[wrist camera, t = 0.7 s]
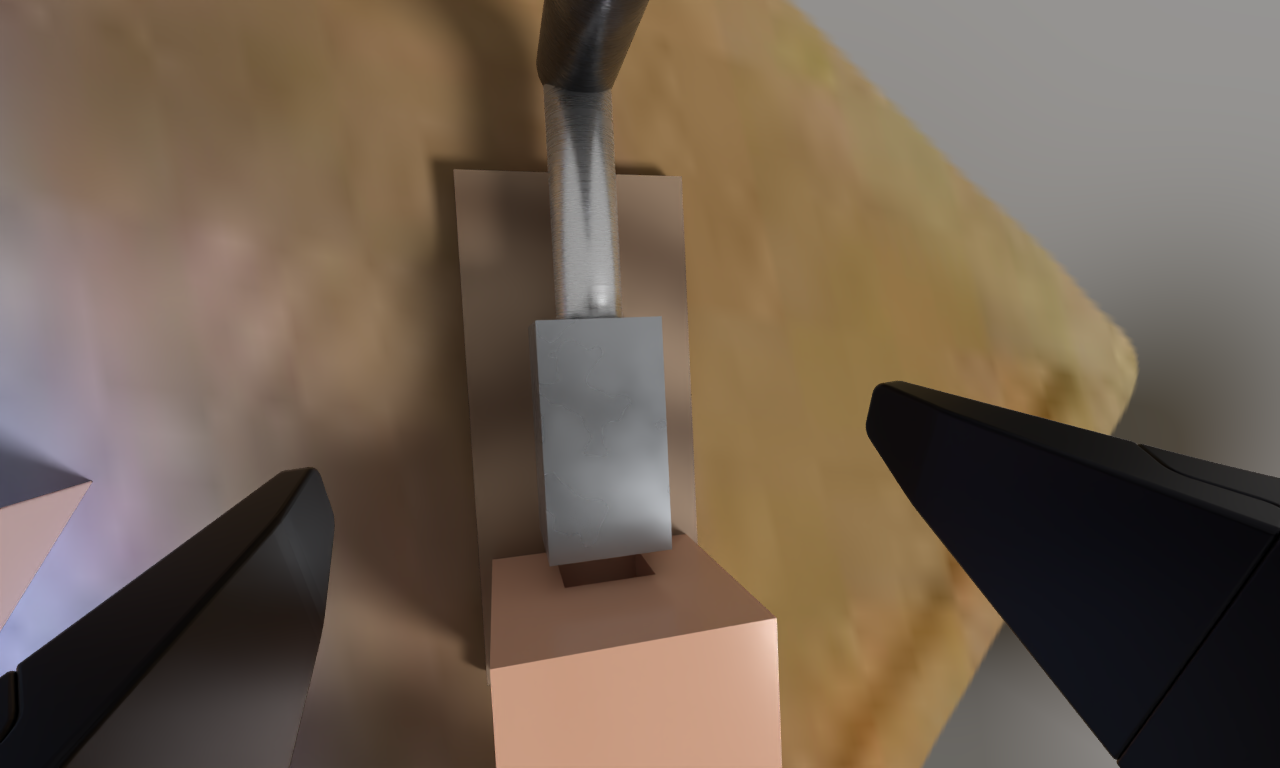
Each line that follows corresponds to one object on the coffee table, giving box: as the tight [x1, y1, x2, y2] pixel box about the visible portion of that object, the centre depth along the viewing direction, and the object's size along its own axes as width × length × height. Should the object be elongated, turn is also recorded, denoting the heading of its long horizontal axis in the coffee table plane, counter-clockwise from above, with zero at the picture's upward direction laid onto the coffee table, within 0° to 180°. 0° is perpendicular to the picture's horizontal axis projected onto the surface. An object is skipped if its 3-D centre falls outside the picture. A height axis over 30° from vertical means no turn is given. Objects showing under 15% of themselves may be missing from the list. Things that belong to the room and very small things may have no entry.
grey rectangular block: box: [528, 316, 672, 566], centre depth 21 cm, size 8×4×4 cm, turn 3°
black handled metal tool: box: [536, 0, 649, 320], centre depth 16 cm, size 16×3×12 cm, turn 3°
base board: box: [453, 169, 698, 686], centre depth 23 cm, size 20×9×1 cm, turn 3°
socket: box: [490, 534, 782, 768], centre depth 19 cm, size 4×8×8 cm, turn 93°
